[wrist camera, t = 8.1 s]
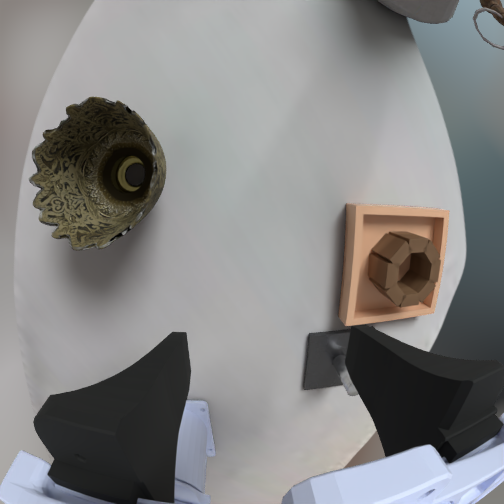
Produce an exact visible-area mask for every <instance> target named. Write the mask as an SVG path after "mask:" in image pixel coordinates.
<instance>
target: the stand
mask: <svg viewBox="0 0 504 504" xmlns="http://www.w3.org/2000/svg"><path fill="white" fill-rule="evenodd" d="M371 328H374V327H373V326H371ZM374 329H375V328H374ZM350 331H351V329H347V330H338V331H329V332H318V333H309V341H308V352H307V361H306V370H305V378H304V390H309V389H317V388H324V387H331V386H338V385H344V387H345V389H346V391H347V393H348V395H350V396H355V395H358V392H357V390H356V388H355V386H354V385H353V383H352V381H351V379H350V376H349V374H348V371H347V368H346V365H345V358H346V353H347V348H348V342H349V337H350Z"/></svg>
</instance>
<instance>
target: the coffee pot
mask: <svg viewBox="0 0 504 504" xmlns="http://www.w3.org/2000/svg"><path fill="white" fill-rule="evenodd" d="M378 1H379V2H380V3H381V4H383V5H384V6H386V7H387V8H389V9H390V10H392V11H394V12H396V13H398V14H401V15H403V16H406V17H409V18H412V19H414V20H417V21H420V22H424V23H430V24H438V23H444V22H447V21H449V20H450V19H451V18H452V17H453V15H454V12H455V10H456V7H457V4H458V2H459V0H378ZM480 3H481V6H482V7H483V8H481V9H478V10H476V11H475V14H474V17H473V20H474V23H475V27H476V29H477V31H478V32H479V34H480V35H481V37H482V38H483V40H484V41H486V42H487V43H489V44H490V45H492V46H493V47H496V48H499V49H502V50H504V46H499V45H495V44H493V43H491V42H490V41H488V40H487V39H486V38H484V37H483V36H482V34H481V33H480V31H479V30H478V26H477V23H476V18H477V16H478V13H481V12H484V11H487V12H489V13H491V14H492V15H493V17H494V18H495V19H496V20H497V21H498V22H499V23H500V24H502V25H503V26H504V8H503V7H502V4H501V1H500V0H480Z"/></svg>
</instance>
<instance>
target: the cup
mask: <svg viewBox="0 0 504 504" xmlns="http://www.w3.org/2000/svg"><path fill="white" fill-rule="evenodd" d="M66 114H67V115H68V118H67V119H66V120H63V121H61V122H60V125H59V126H58V127H57V128H55V129H53V130H45V131H44V132H43V137H44V139H45V141H43V142H42V143H40V144H39V145H38V146H36V147H35V148H34V149H33V151H32V158H33V161H34V163H35V165H36V167H37V173H35V174H33V175H32V176H31V177H30V178H29V181H30V183H31V184H33V186H35V187H36V186H37V187H39V188H41V190H40V191H39V192H38V193H37V194H36V197H35V199H34V201H33V206H34V207H35V208H37V209H39V210H40V211H41V212H40V216H39V221H40V222H41V223H43V224H45V225H49V226H57V228H56V229H55V230H54V231H53V232H52V237H53V238H56V239H61V238H66V239H67V240H69V245H70V247H71V248H72V249H74V250H86V249H90V248H94V247H97V249H103V248H105V247H107V246H109V245H110V244H111V243H112V242H113V241H115V240H116V239H118V238H120V237H121V236H123V235H125V234H126V233H127V232H128V231H130V230H131V229H133V228H134V226H135V225H136V224H138V223H139V222H140V221H141V220H142V219H143V218H144V217H145V216H146V215H147V214H148V213H149V212H150V211H151V209H152V208H153V207H154V205H155V204H156V202H157V201H158V199H159V197H160V195H161V193H162V190H163V187H164V184H165V179H166V161H165V156H164V153H163V150H162V147H161V145H160V143H159V141H158V140H157V138H156V137H155V135H154V134H153V132H152V131H151V130H150V129H149V127H148V126H147V124H145V122H144V121H143V119H142V118H141V117H140V116H139V115H138V114H137V113H136V112H135V111H132V110H130V109H129V108H128V106H127V105H125V104H123V103H122V102H120V101H118V100H117V101H116V103H115V102H112V101H109V100H107V99H105V98H100V97H89V98H87V99H86V100H85V101H83V102H82V103H81V104H79V105H78V104H72V105H70V106H68V107H67V108H66ZM132 164H141V165H142V166H143V167H144V168H145V178H144V181H143V182H142V183H141V184H140V185H138V186H133V185H130V184H129V183H128V182H127V180H126V177H125V174H126V170H127V169H128V167H129V166H130V165H132Z"/></svg>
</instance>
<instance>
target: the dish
mask: <svg viewBox="0 0 504 504" xmlns="http://www.w3.org/2000/svg"><path fill="white" fill-rule="evenodd" d="M448 222H449V211H448V210H443V209H438V208H427V207H413V206H396V205H377V204H351V203H346V229H345V247H344V261H343V274H342V285H341V295H340V304H339V313H338V317H339V318H340V319H341V321H342V322H343V323H344V325H345V326H352V325H360V324H368V323H376V322H383V321H390V320H397V319H403V318H409V317H415V316H421V315H427V314H432V313H434V311H435V307H436V302H437V297H438V293H439V287H440V282H441V277H442V271H443V264H444V258H445V250H446V242H447V233H448ZM389 231H407V232H410V233H413V234H416V235H419V236H422V237H425V238H428V239H429V240H431V241H432V243H433V245H434V246H435V248H436V250H437V251H438V253H439V255H440V258H439V259H440V260H441V265H440V271H439V278H438V282H436V283H434V284H435V285H436V287H435V288H434V289H433V290H432V291H431V293H430V294H429V295H428V296H427V297H426V299H425V300H424V301H423V302H422V303H421V302H420V301H419V305H415V306H408V307H402V308H400V307H399V306H398V307H397V306H396V305H395V304H394V303H393V302H391V301H390V300H389V299H388V298H386V297H385V296H384V295H383V294H382V293H380V292H379V290H378V289H377V288H376V287H375V286H374V285H373V283H372V282H371V281H370V280H369V278H370V277H369V276H368V265H369V253H374V252H373V251H372V250H371V249H372V248H373V247H374V246H375V245H376V244H377V242H378V241H379V240H380V239H381V238H382V237H383V236H384V235H385V233H387V234H389ZM410 259H411V253H410V255H409V256H408V257H407V258H406V259H405V260H404V262H403V263H402V264H401V265H400V266H399V273H398V280H397V281H399V280H400V279H401V278H402V277H403V276H404V275H405V274H406V272H407V271H408V270H409V268H410Z"/></svg>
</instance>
